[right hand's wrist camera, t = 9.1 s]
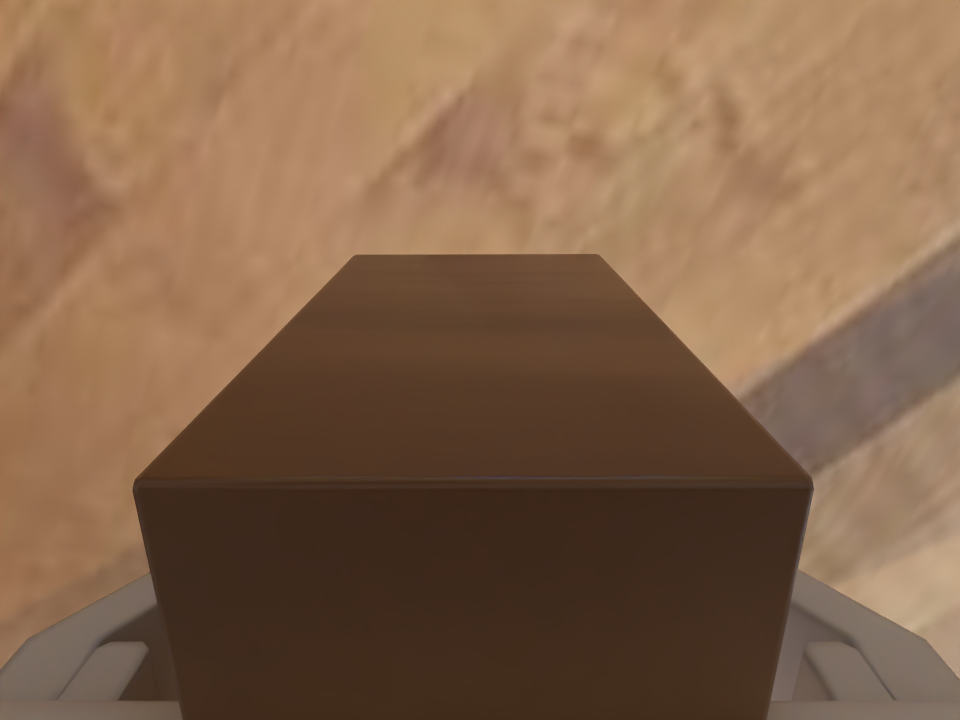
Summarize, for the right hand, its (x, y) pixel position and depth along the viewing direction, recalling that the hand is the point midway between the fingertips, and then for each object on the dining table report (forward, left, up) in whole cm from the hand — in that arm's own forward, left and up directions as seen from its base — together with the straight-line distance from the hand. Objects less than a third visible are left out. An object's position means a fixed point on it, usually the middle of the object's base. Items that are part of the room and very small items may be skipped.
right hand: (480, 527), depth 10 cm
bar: (-10, +3, -3) cm, 11 cm away
